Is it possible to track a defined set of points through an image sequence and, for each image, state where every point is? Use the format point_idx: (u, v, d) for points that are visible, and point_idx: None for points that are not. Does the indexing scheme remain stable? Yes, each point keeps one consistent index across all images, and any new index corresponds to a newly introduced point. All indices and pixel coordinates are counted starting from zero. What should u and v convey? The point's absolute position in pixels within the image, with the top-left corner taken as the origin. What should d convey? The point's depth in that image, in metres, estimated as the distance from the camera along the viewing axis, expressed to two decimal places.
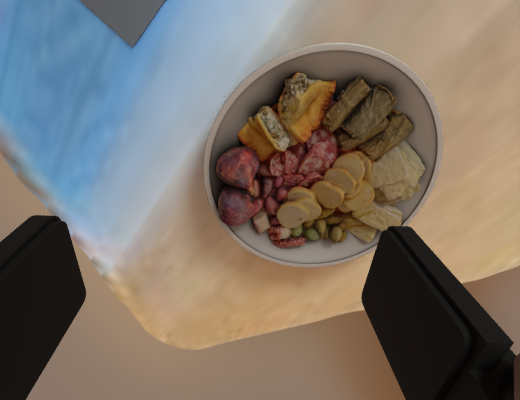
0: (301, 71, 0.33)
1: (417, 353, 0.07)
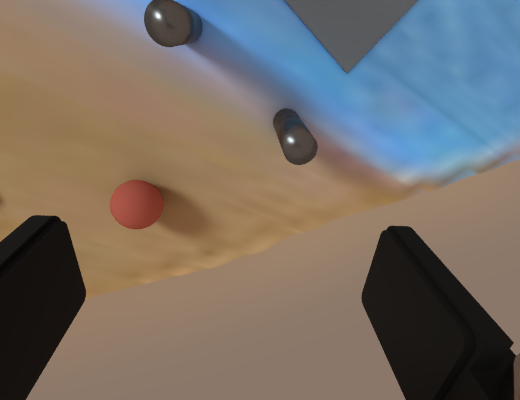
0: None
1: (417, 353, 0.07)
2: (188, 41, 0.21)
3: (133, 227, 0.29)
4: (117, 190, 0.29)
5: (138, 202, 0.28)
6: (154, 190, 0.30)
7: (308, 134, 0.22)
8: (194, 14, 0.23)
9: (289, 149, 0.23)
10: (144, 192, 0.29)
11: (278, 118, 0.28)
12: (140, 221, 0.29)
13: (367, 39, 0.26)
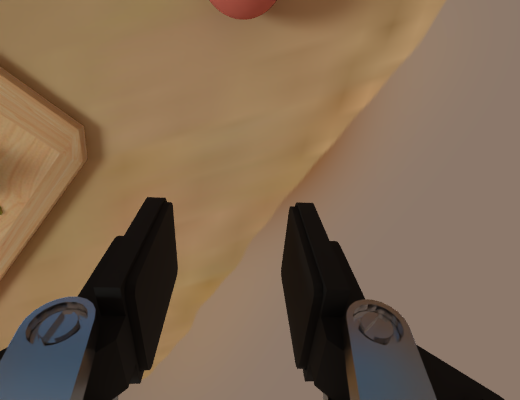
0: None
1: (298, 309, 0.08)
2: None
3: None
4: None
5: None
6: None
7: None
8: None
9: None
10: None
11: None
12: None
13: None
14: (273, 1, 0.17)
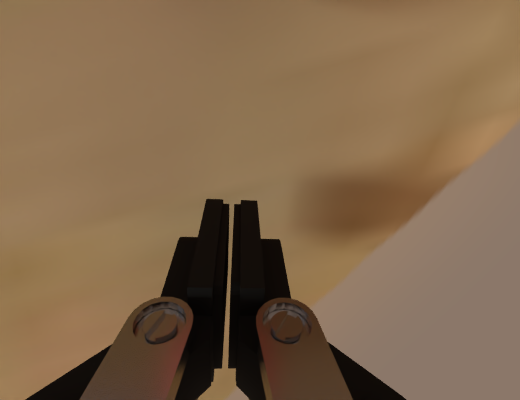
0: None
1: None
2: None
3: None
4: None
5: None
6: None
7: None
8: None
9: None
10: None
11: None
12: None
13: None
14: None
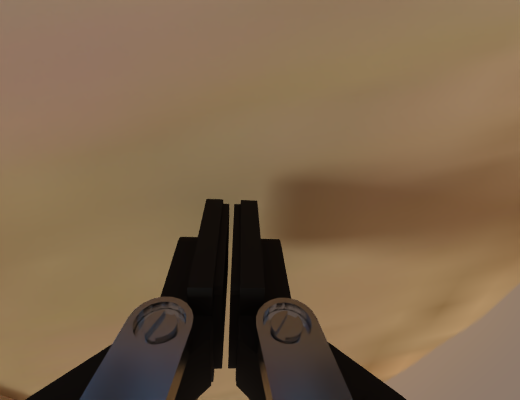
0: None
1: None
2: None
3: None
4: None
5: None
6: None
7: None
8: None
9: None
10: None
11: None
12: None
13: None
14: None
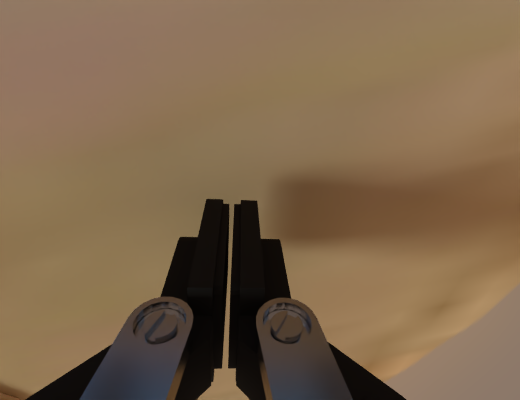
0: None
1: None
2: None
3: None
4: None
5: None
6: None
7: None
8: None
9: None
10: None
11: None
12: None
13: None
14: None
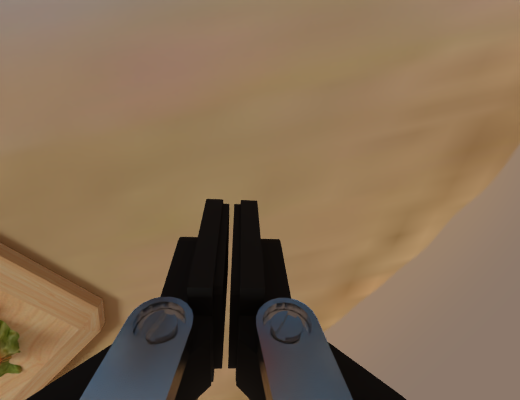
0: None
1: None
2: None
3: None
4: None
5: None
6: None
7: None
8: None
9: None
10: None
11: None
12: None
13: None
14: None
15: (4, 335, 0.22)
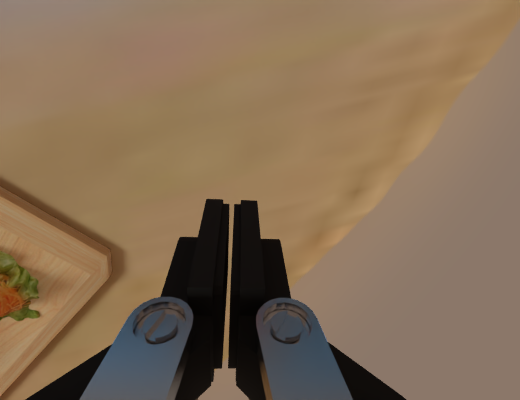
0: None
1: None
2: None
3: None
4: None
5: None
6: None
7: None
8: None
9: None
10: None
11: None
12: None
13: None
14: None
15: (26, 280, 0.26)
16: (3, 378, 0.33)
